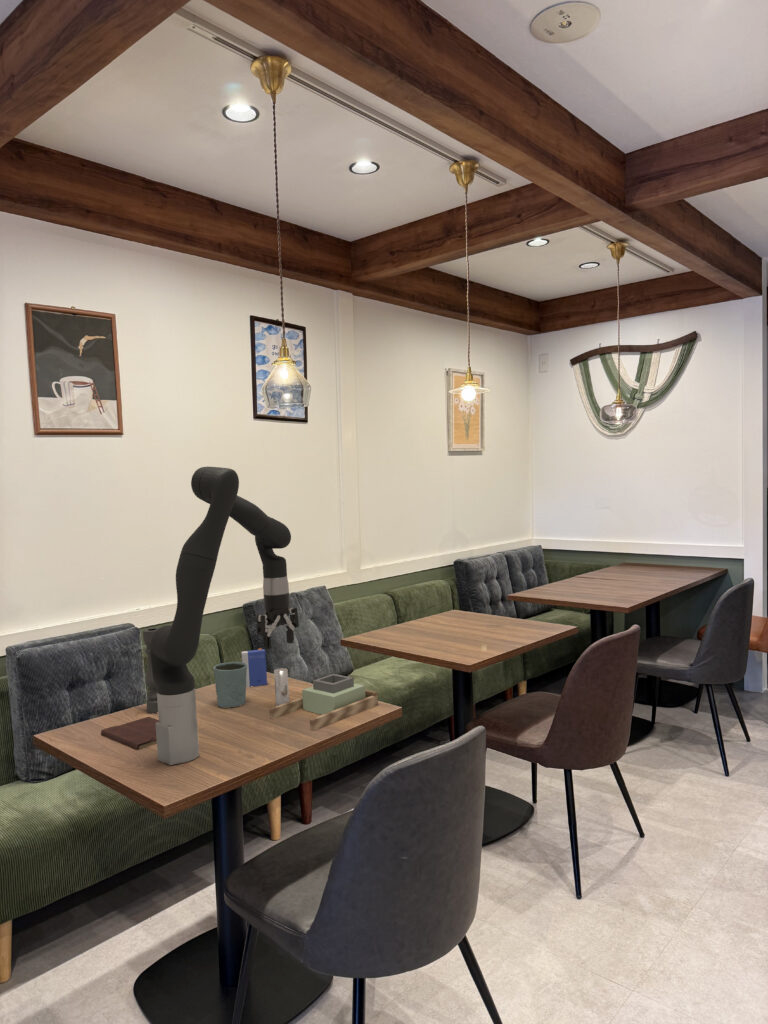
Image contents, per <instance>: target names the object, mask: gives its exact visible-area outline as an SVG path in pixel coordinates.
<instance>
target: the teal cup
mask: <svg viewBox="0 0 768 1024" xmlns="http://www.w3.org/2000/svg"><path fill="white" fill-rule="evenodd" d="M246 673H247V664H246V663H242V661H229V662H227V661H226V662H223V663H222V662H221V663H218V664H216V665H214V666H213V674H214V684H215V693H216V702H217V706H218V707H219V706H220V707H219V708H221V707H226V708H225V709H228V708H227V707H235V706H239V707H241V706H240V705H242V706H244V705H245V704H246V701H247V700H246V699H247V695H246V694H247V687H246ZM243 704H244V705H243ZM235 708H236V707H235Z"/></svg>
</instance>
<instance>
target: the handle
mask: <svg viewBox="0 0 768 1024" xmlns="http://www.w3.org/2000/svg"><path fill="white" fill-rule="evenodd" d="M288 673H289V672H288V668H286V667H285V668H284V667H279V668H275V669H274V670H273V679H274V692H275V707H276V706H279V705H282V704H284V703H287V702H290V691H289V689H290V688H289V674H288Z"/></svg>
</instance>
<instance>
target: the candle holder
mask: <svg viewBox="0 0 768 1024" xmlns="http://www.w3.org/2000/svg"><path fill="white" fill-rule="evenodd" d="M159 628H160V627H149V628H145V629H142V640H143V643H144V645H145V647H146V648H145V649H144V653H145V654H146V656H147V667H146V673H145V680H144V683H145V686H146V687H147V688H148V693H147V695H146V698H147V699H146V712H147V714H152V713H153V714H158V713H157V712H158V701H157V688H156V684H155V682H154V679H153V675H152V666H151V656H150V642H151V638H152V636H153V634H154V633H155V631H156V630H157V629H159Z"/></svg>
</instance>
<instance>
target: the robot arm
mask: <svg viewBox="0 0 768 1024" xmlns="http://www.w3.org/2000/svg"><path fill="white" fill-rule="evenodd" d="M190 485H191V490H192V493H193V494H194V496H195V497H196V498H197V499H199V500H200V501H203V502H205V503H206V504H207V505H208V504H209V507H208V508H207V509H208V510H207V513H206V515H205V517H204V518H203V520H202V522H201V523H200V524H199V526H198V527H197V528H196V529H194V531H193V533H191V535H189V537H188V538H187V539H186V541H185V542H184V544H183V545H182V548H181V551H180V554H179V557H178V562H177V566H176V570H175V588H176V589H175V590H176V597H177V599H176V600H177V601H176V609H175V614H174V618H173V621H172V624H171V625H170V624H168V625H167V624H166V625H162V626H161V627H158V628H159V629H157V630H156V631H155V633H154V634H153V636H152V638H151V642H150V656H151V666H152V675H153V679H154V682H155V684H156V688H157V701H158V713H157V714H158V720H159V722H157V723H156V739H157V744H156V752H157V753H156V754H157V761H159V762H162V763H164V764H167V765H169V766H173V765H177V764H184V763H188V762H191V761H193V760H195V759H197V758H198V757H199V756H200V745H199V731H198V718H197V717H198V716H197V714H198V713H197V698H196V697H197V696H196V683H195V678H194V676H193V674H192V673H191V672H190V670H189V668H188V666H187V665H188V664H189V663H190V662H191V661H192V660H193V658H194V657H195V656H196V653H197V650H198V648H199V642H200V638H201V637H200V636H201V629H202V623H203V616H204V612H205V607H206V604H207V599H208V595H209V591H210V588H211V587H210V586H211V583H212V580H213V577H214V573H215V569H216V565H217V561H218V556H219V552H220V549H221V548H220V547H221V545H222V542H223V537H224V534H225V530H226V527H227V524H228V521H229V518H231V519H233V521H235V522H236V523H237V524H239V525H240V526H241V527H243V529H245V530H246V531H247V532H248V533H250V534H251V535H252V536H253V537H254V541H255V542H254V543H255V546H256V549H257V552H258V555H259V558H260V560H261V564H262V576H263V577H262V578H263V579H262V580H263V581H262V589H263V591H262V593H263V607H264V609H265V614H257V615H256V635H257V636H262V639H263V647H264V649H265V650H271V649H272V637H271V635H272V632H273V631H274V630H275V629H276V628H277V627H278V628H279V626H284V627H285V629H286V630H285V634H286V643H287V644H294V642H295V633H294V632H295V630H296V628H299V626H300V622H299V613H298V608H297V607H290V606H291V605H290V602H291V601H290V590H289V589H290V588H289V580H288V568H287V560H286V558H285V557H284V556H280V555H277V554H276V553H275V552H274V549H279V550H281V549H286V547H288V546H289V544H290V543H291V540H292V534H291V531H290V529H289V528H288V526H286V524H284V523H283V522H281V521H279V520H277V519H275V518H273V517H271V516H268V515H267V514H266V513H265V512H264V511H263V510H262V509H261V508H260V507H259V506H257V505H256V504H255V503H253V502H251V501H250V500H247V499H246V498H243V497H242V496H239V495H238V493H239V487H240V479H239V475H238V473H237V472H236V470H235V469H232V468H229V467H220V466H201V467H199V468H196V470H195V471H194V473H193V474H192V476H191V481H190Z"/></svg>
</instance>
